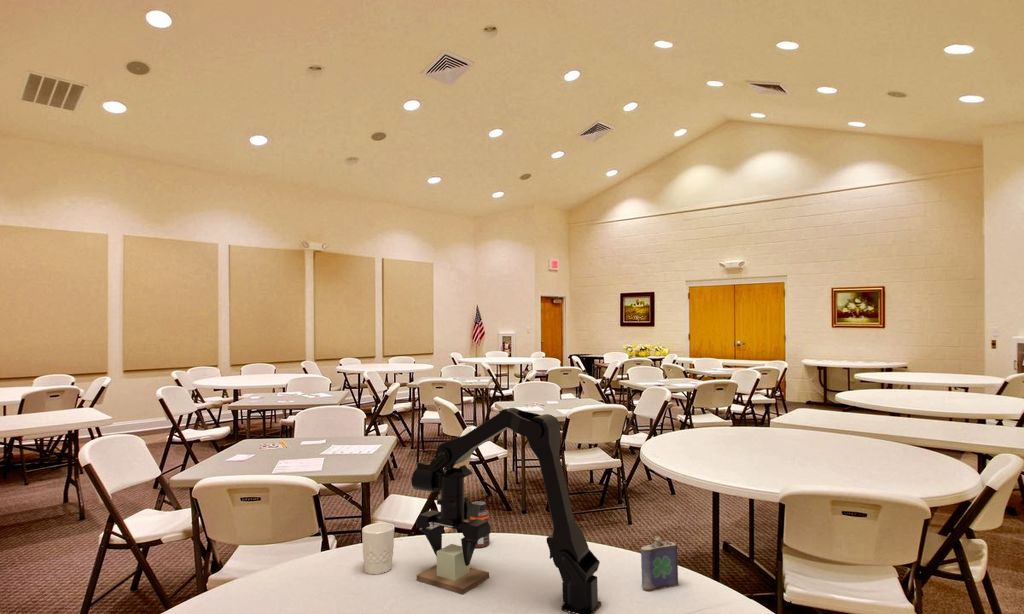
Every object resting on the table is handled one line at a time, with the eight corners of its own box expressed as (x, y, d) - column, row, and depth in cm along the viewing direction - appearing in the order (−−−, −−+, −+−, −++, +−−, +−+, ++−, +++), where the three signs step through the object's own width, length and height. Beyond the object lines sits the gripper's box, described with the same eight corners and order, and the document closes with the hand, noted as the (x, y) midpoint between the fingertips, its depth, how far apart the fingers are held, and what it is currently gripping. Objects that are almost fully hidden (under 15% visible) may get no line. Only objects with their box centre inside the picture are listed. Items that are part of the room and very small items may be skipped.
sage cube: (469, 571, 123) (469, 548, 123) (454, 580, 118) (454, 555, 119) (451, 567, 126) (451, 543, 126) (436, 575, 121) (436, 551, 122)
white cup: (359, 566, 131) (359, 525, 131) (390, 560, 134) (390, 520, 135) (364, 578, 123) (364, 535, 124) (397, 571, 127) (397, 529, 128)
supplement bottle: (486, 549, 140) (486, 506, 141) (465, 547, 142) (465, 505, 143) (491, 541, 146) (491, 500, 147) (471, 540, 147) (471, 499, 148)
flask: (646, 592, 113) (644, 541, 114) (638, 586, 116) (636, 537, 117) (681, 585, 116) (679, 536, 117) (673, 580, 119) (671, 532, 120)
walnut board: (489, 577, 122) (489, 572, 122) (463, 594, 114) (463, 588, 114) (444, 565, 130) (444, 560, 130) (416, 580, 122) (416, 575, 122)
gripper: (503, 491, 125) (504, 557, 124) (444, 482, 136) (445, 543, 134) (475, 502, 116) (476, 574, 115) (414, 492, 126) (415, 558, 125)
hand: (453, 561), depth 122 cm, fingers open, 8 cm apart
